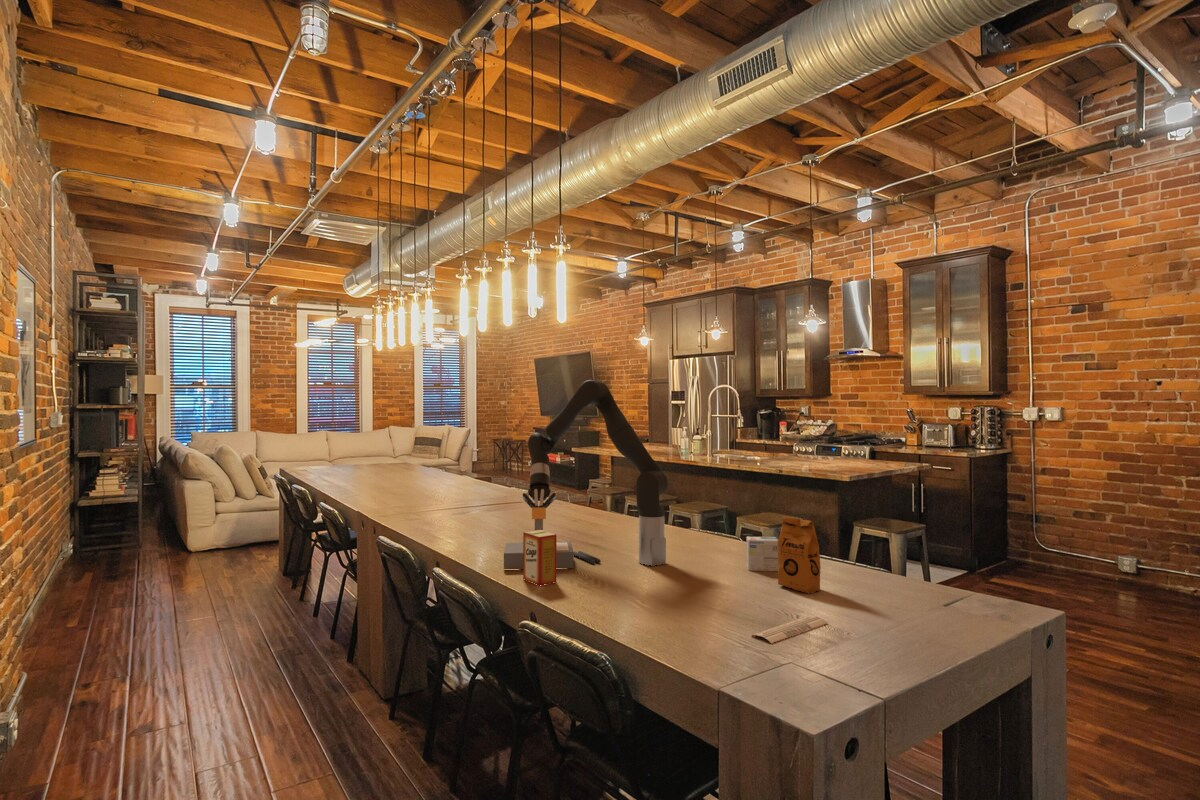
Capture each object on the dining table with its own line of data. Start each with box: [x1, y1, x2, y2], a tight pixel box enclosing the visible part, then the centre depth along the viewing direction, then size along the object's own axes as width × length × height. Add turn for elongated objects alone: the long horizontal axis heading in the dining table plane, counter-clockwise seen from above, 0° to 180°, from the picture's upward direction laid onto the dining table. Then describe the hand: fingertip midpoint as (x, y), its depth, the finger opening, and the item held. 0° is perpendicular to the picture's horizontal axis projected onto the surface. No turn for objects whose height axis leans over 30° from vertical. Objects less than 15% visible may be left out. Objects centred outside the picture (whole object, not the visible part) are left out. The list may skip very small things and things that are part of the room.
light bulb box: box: [745, 536, 779, 572], centre depth 224 cm, size 11×7×11 cm, turn 84°
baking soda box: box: [522, 529, 557, 587], centre depth 208 cm, size 10×6×16 cm
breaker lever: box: [531, 508, 547, 531], centre depth 232 cm, size 2×5×13 cm, turn 96°
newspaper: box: [751, 615, 829, 645], centre depth 164 cm, size 24×7×2 cm, turn 127°
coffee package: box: [777, 516, 821, 595], centre depth 201 cm, size 10×12×22 cm
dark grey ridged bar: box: [573, 550, 602, 565], centre depth 237 cm, size 16×4×2 cm, turn 31°
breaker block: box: [503, 541, 574, 570], centre depth 230 cm, size 16×24×9 cm, turn 95°
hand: (538, 516), depth 234 cm, fingers closed
